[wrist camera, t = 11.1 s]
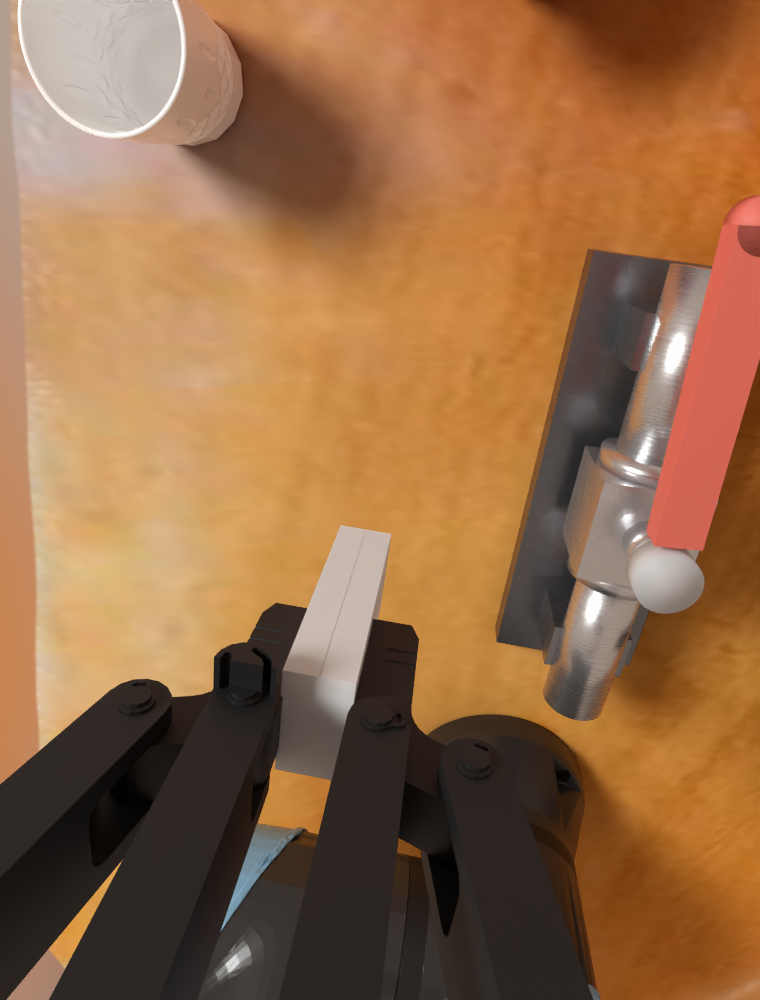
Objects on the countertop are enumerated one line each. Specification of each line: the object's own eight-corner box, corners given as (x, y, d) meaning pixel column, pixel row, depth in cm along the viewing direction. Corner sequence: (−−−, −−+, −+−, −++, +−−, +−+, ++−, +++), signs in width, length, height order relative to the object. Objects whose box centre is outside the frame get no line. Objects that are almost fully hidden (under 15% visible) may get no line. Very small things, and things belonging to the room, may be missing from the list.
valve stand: (623, 649, 50) (669, 777, 38) (495, 626, 50) (504, 746, 39) (756, 272, 38) (879, 296, 27) (588, 248, 39) (638, 262, 27)
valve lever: (683, 597, 33) (695, 617, 31) (620, 590, 33) (628, 609, 32) (800, 198, 25) (823, 196, 24) (716, 193, 26) (733, 192, 24)
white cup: (230, -21, 35) (149, -102, 26) (270, 137, 38) (209, 113, 29) (104, 21, 37) (-13, -41, 28) (152, 170, 40) (60, 157, 31)
